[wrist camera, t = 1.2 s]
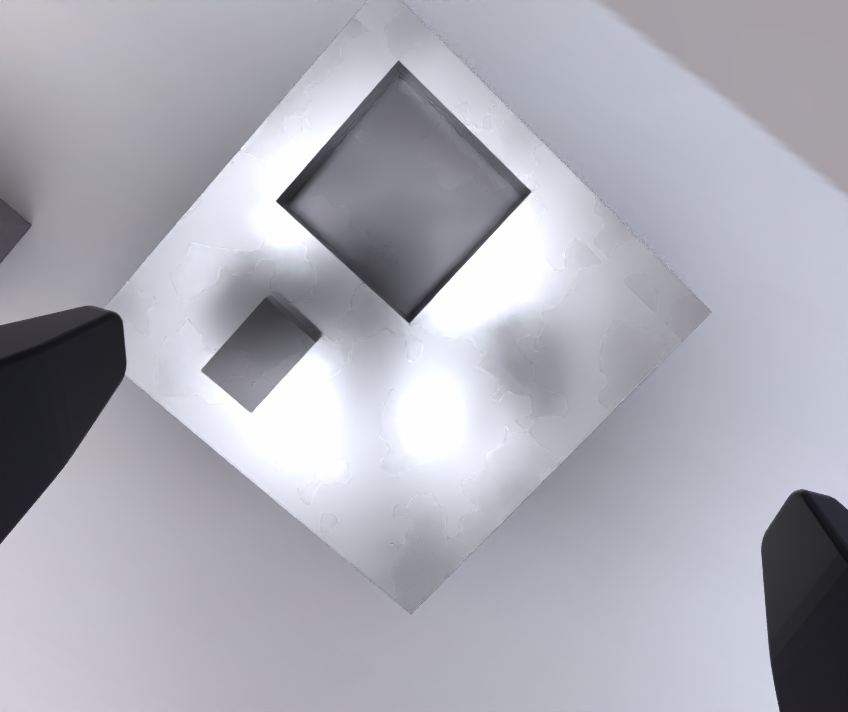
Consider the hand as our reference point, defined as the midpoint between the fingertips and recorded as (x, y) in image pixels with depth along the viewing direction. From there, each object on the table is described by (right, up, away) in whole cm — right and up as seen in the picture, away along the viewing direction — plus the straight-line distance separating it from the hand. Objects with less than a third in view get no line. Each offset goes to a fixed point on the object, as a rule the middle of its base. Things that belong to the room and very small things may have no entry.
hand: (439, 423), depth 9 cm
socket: (-1, +2, +14) cm, 14 cm away
